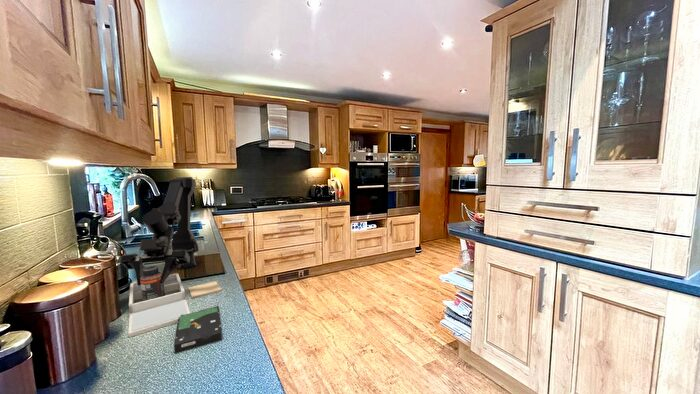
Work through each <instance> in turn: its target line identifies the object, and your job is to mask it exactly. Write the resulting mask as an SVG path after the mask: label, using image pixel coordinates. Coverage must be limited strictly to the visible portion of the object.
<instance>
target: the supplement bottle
mask: <svg viewBox="0 0 700 394" xmlns="http://www.w3.org/2000/svg"><path fill="white" fill-rule="evenodd" d="M161 276H162V272H161V271H159V266H157V265H151V266H148V267H145V268H144V269H143V276H141V278H140V282H141V291H142V299H141V300H142V301H146V300H150V299H154V298H158V297H162V296H166V293H165V290H164V282H163V283H161V282H160V281H161Z"/></svg>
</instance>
